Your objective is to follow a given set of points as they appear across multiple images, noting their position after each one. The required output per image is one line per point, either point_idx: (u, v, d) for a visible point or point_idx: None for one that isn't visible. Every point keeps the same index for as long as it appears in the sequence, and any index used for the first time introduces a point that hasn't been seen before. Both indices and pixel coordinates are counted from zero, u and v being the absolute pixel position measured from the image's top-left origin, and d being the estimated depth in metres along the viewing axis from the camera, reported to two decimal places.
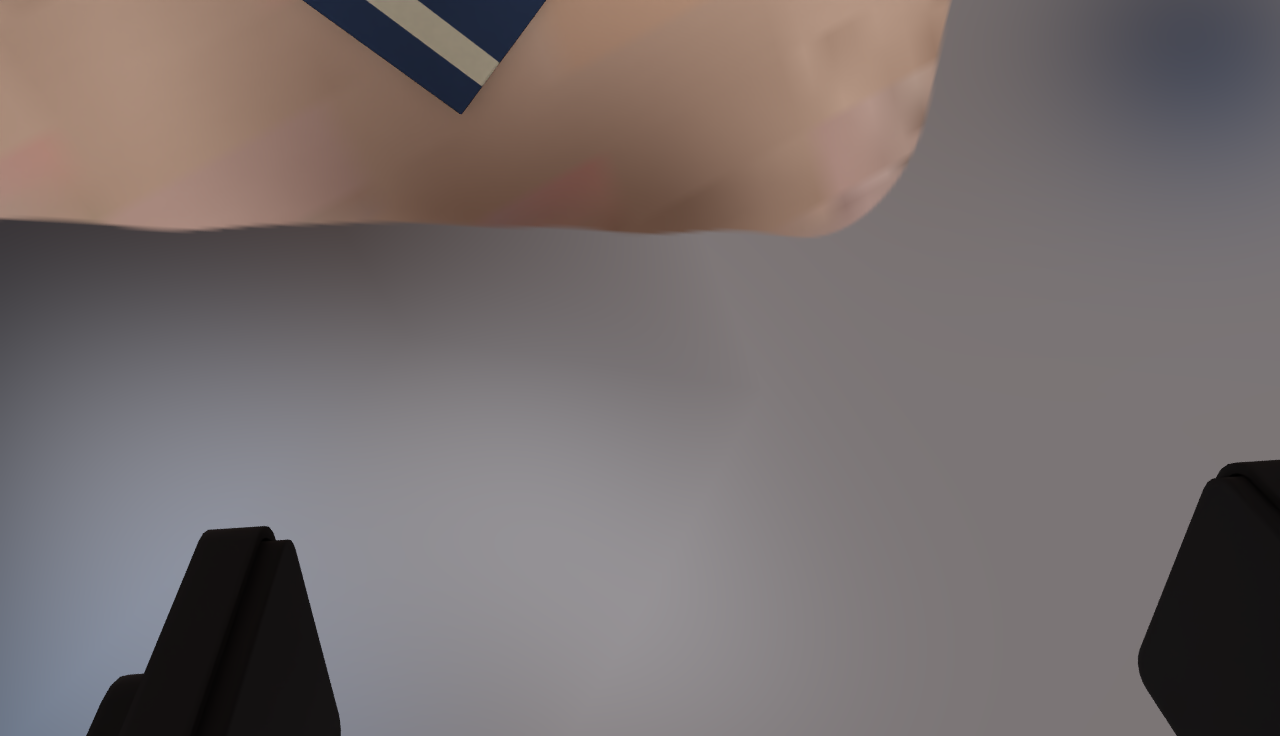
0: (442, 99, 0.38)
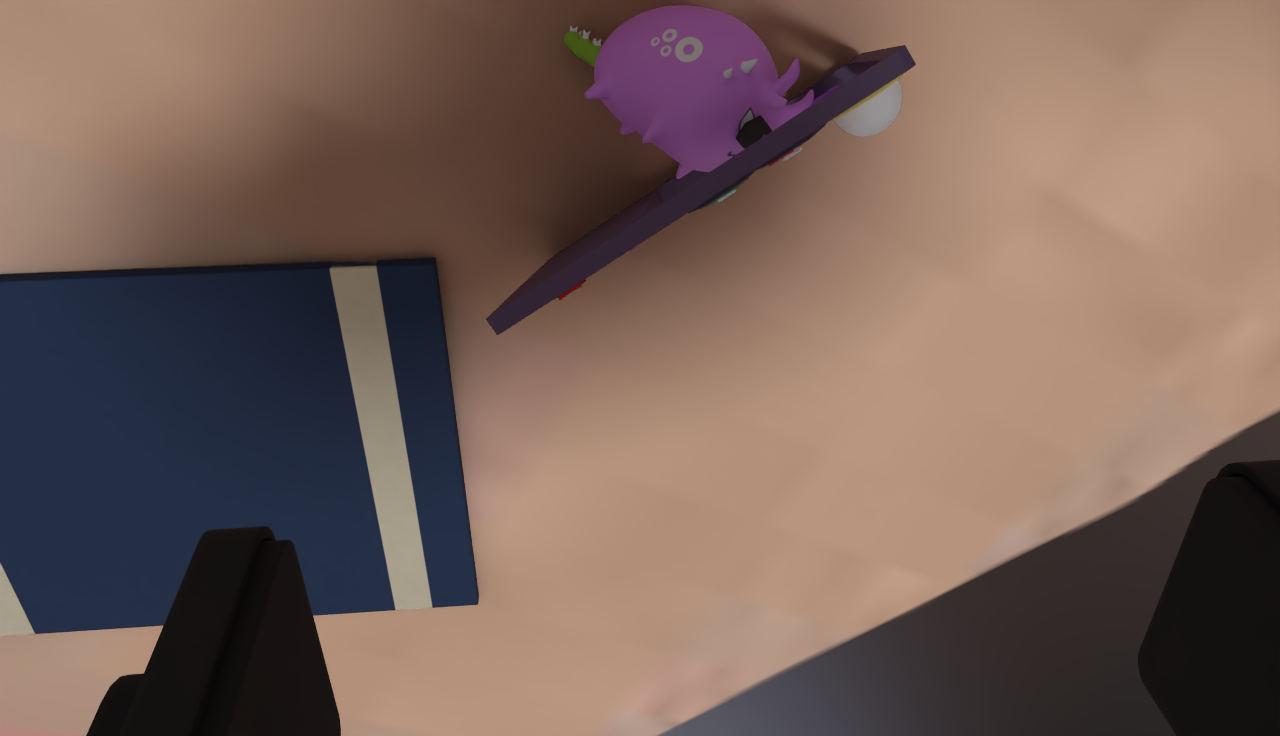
0: None
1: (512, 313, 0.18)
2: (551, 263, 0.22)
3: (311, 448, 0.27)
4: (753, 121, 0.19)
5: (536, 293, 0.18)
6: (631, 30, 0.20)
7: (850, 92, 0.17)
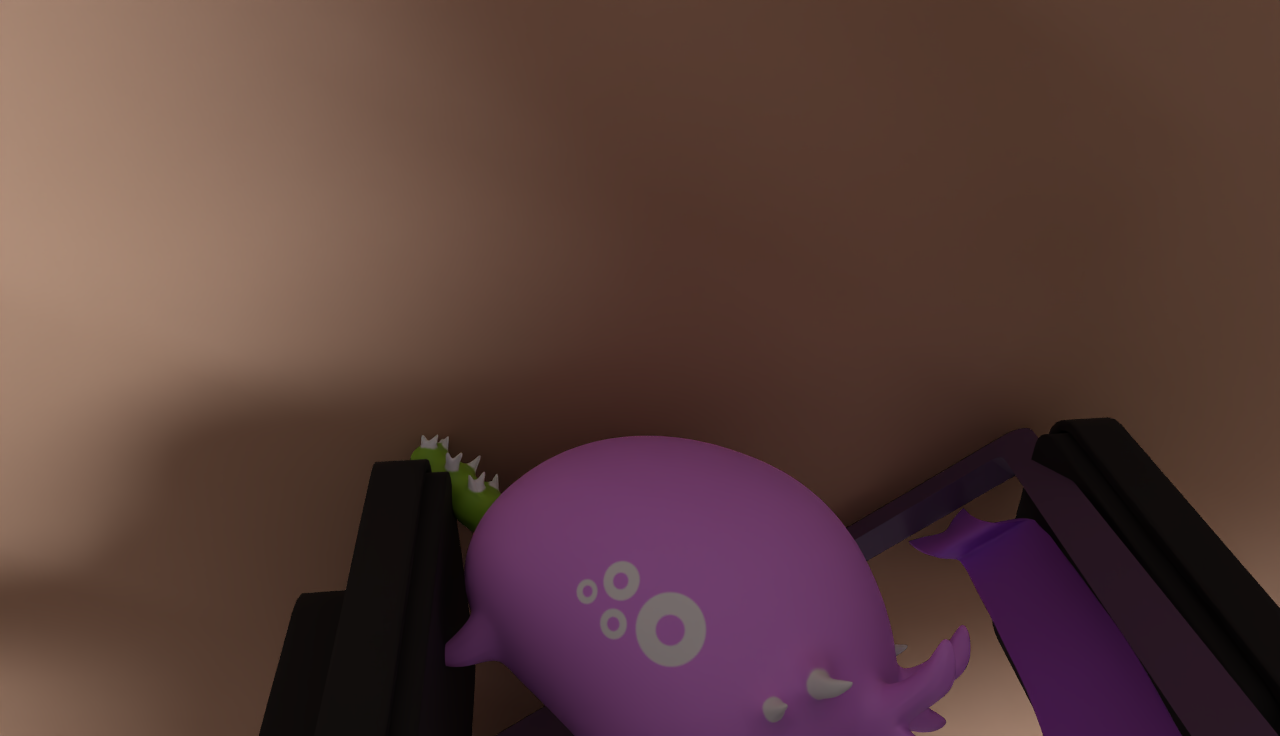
0: None
1: None
2: None
3: None
4: None
5: None
6: (532, 537, 0.08)
7: None
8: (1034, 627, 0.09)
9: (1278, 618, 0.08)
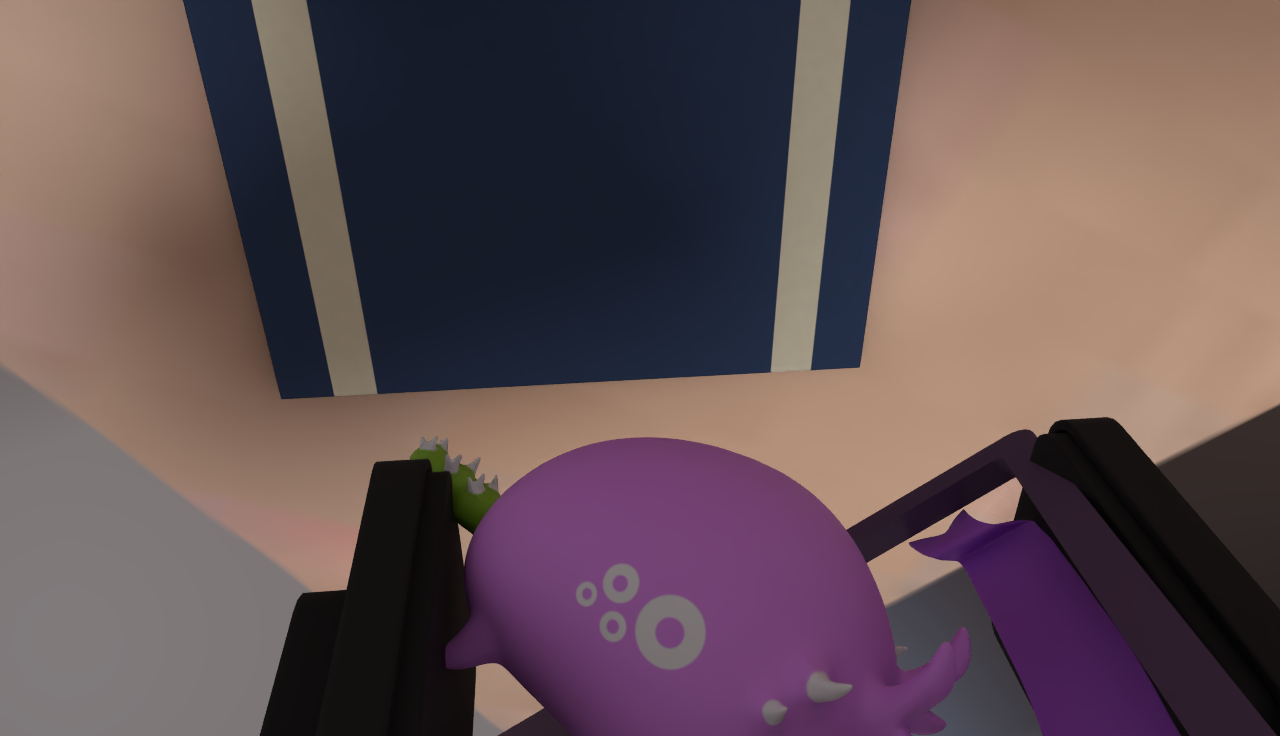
0: (275, 369, 0.26)
1: None
2: None
3: (731, 152, 0.24)
4: None
5: None
6: (531, 541, 0.08)
7: None
8: (1034, 629, 0.09)
9: (1276, 618, 0.08)
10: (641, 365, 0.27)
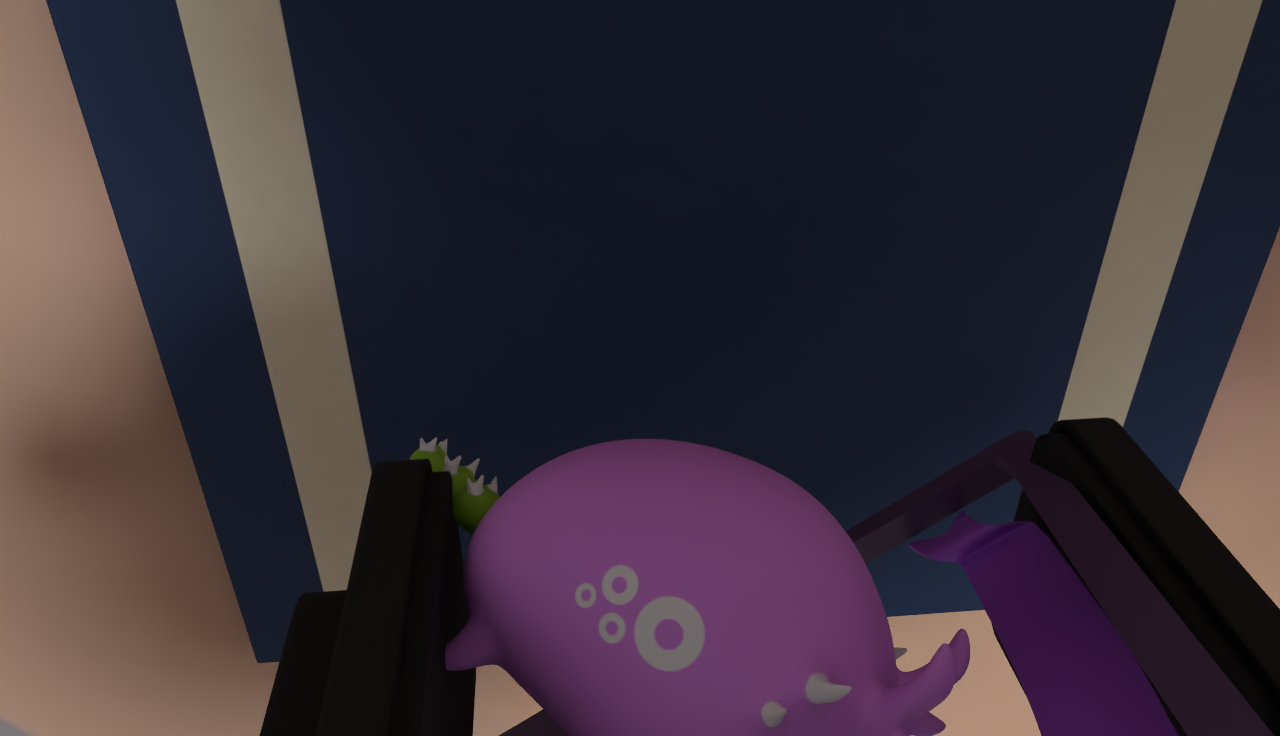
0: (247, 621, 0.17)
1: None
2: None
3: (999, 303, 0.14)
4: None
5: None
6: (531, 541, 0.08)
7: None
8: (1034, 631, 0.09)
9: (1276, 618, 0.08)
10: None
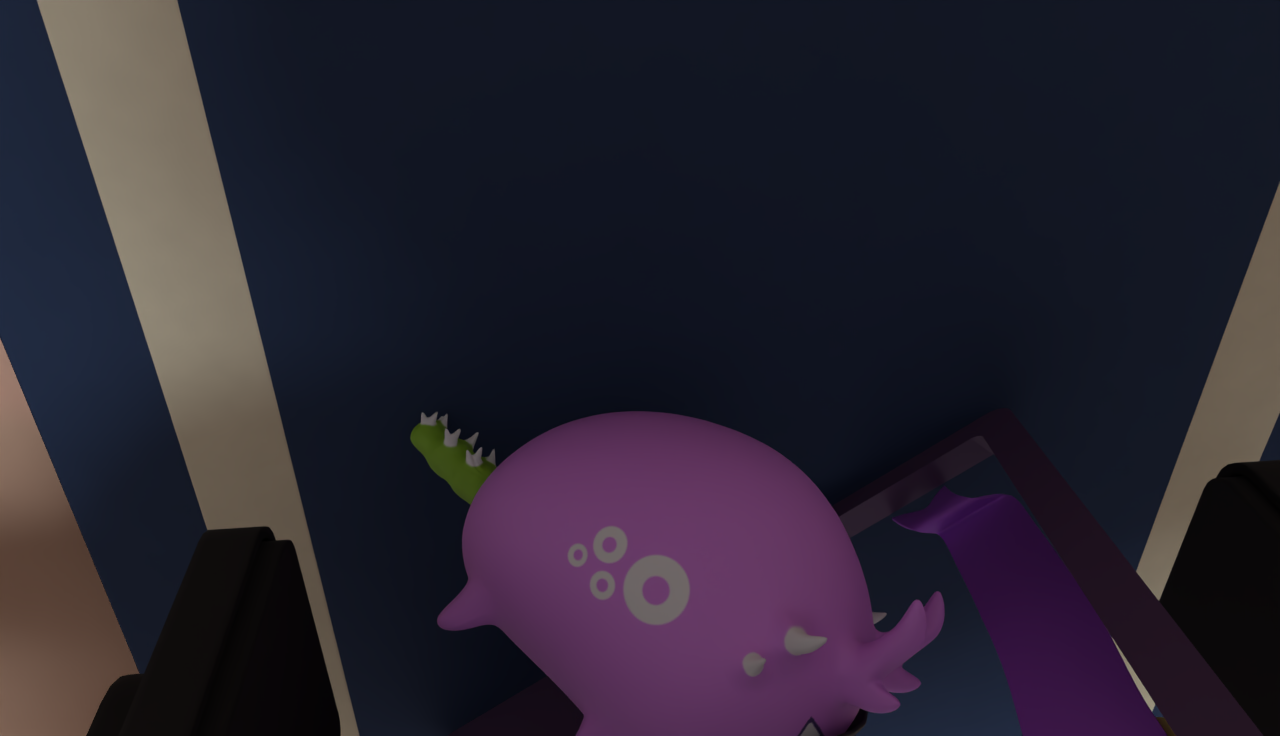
0: None
1: None
2: None
3: (1083, 423, 0.12)
4: None
5: None
6: (526, 505, 0.09)
7: None
8: (1007, 595, 0.10)
9: None
10: None
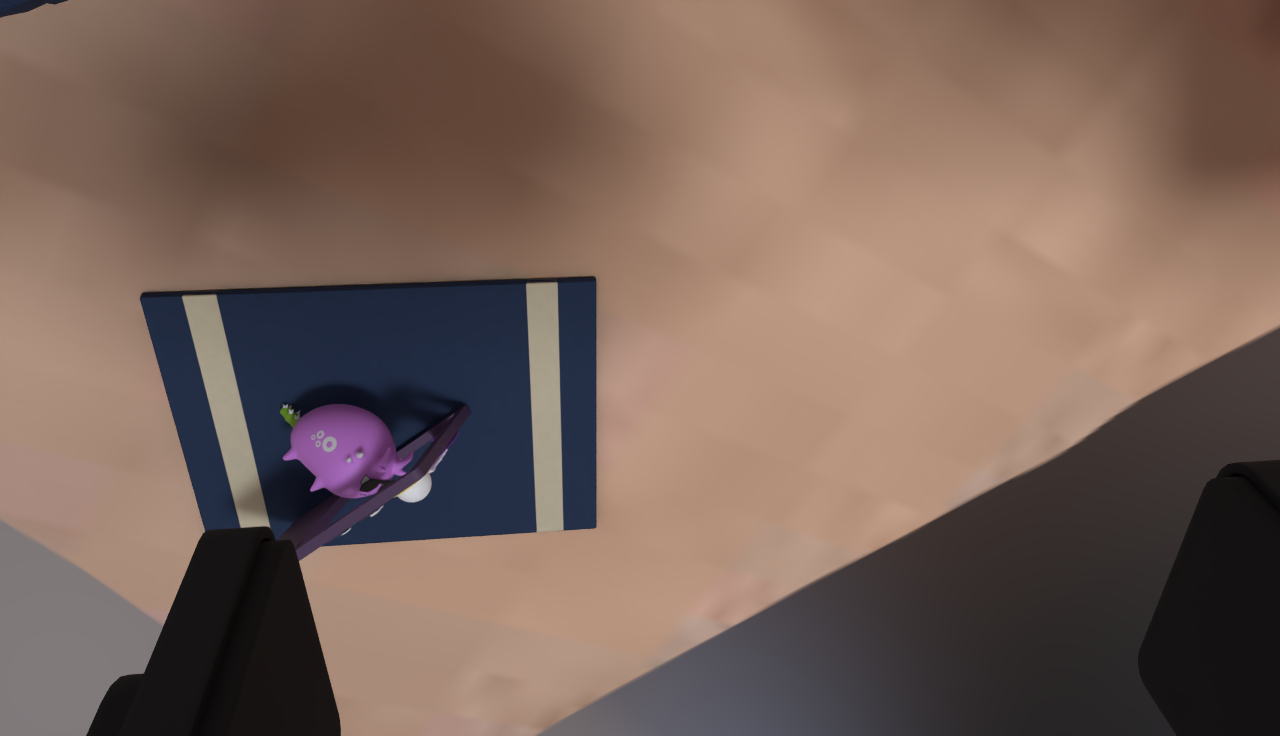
0: None
1: None
2: (281, 539, 0.38)
3: (495, 409, 0.38)
4: (367, 482, 0.34)
5: None
6: (303, 426, 0.35)
7: (392, 490, 0.32)
8: None
9: None
10: (450, 529, 0.41)
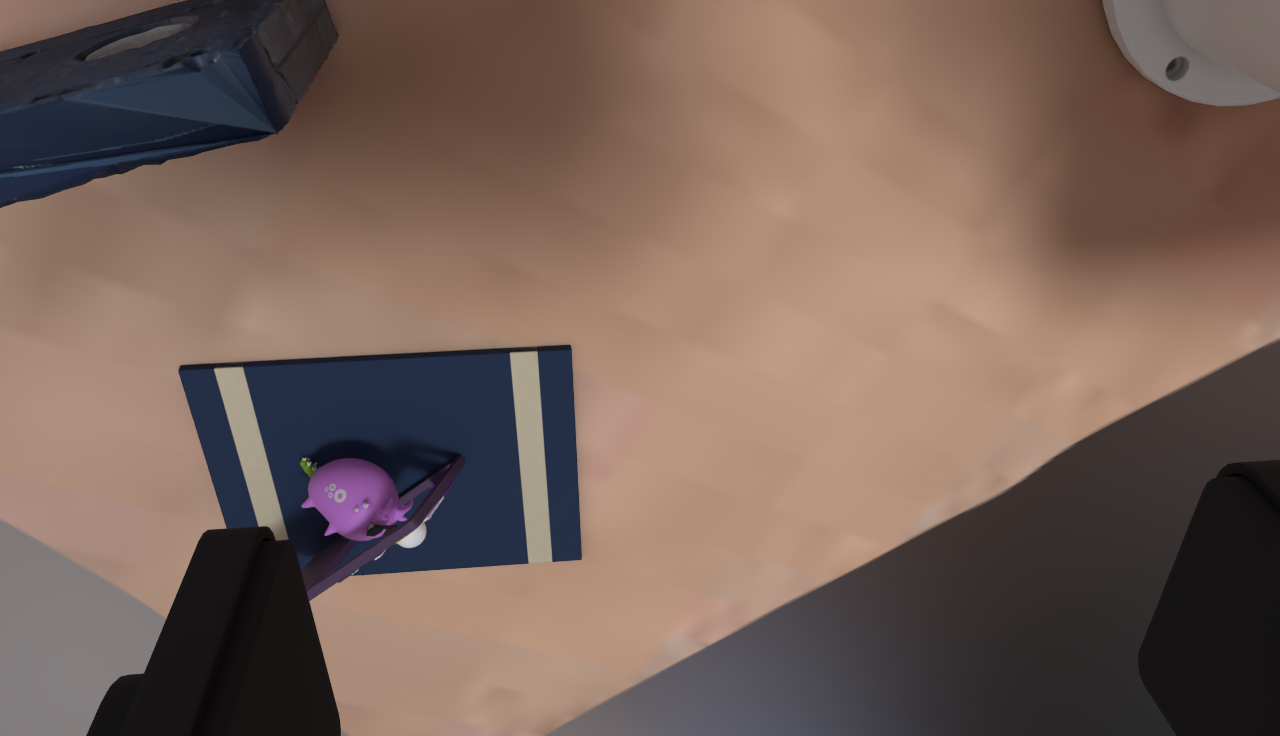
0: None
1: None
2: (302, 573, 0.43)
3: (487, 459, 0.44)
4: (372, 528, 0.40)
5: None
6: (318, 479, 0.40)
7: (391, 539, 0.37)
8: None
9: None
10: (451, 561, 0.47)
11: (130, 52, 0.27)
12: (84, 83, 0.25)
